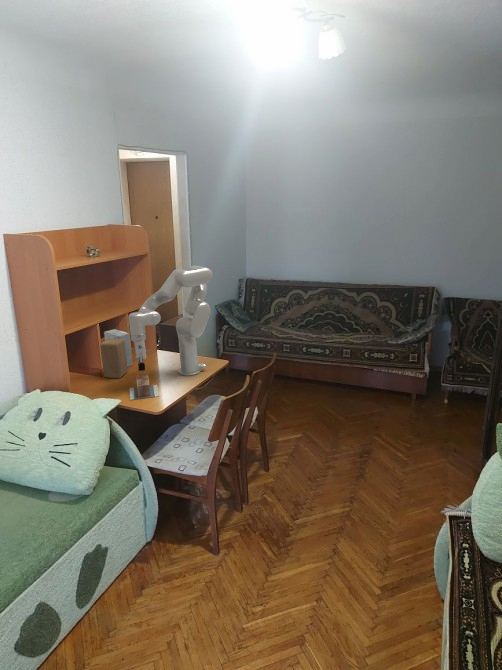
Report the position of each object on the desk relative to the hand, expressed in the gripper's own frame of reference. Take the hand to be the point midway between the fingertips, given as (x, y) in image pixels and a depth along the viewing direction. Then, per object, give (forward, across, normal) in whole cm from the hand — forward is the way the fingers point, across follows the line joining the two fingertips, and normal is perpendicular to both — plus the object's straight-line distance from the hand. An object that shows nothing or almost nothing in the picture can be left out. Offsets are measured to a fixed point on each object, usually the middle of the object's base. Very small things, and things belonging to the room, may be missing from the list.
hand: (142, 370), depth 238 cm
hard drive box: (+9, +36, +12) cm, 39 cm away
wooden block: (+9, +21, +14) cm, 26 cm away
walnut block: (+6, -1, 0) cm, 6 cm away
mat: (+9, -9, 0) cm, 13 cm away
